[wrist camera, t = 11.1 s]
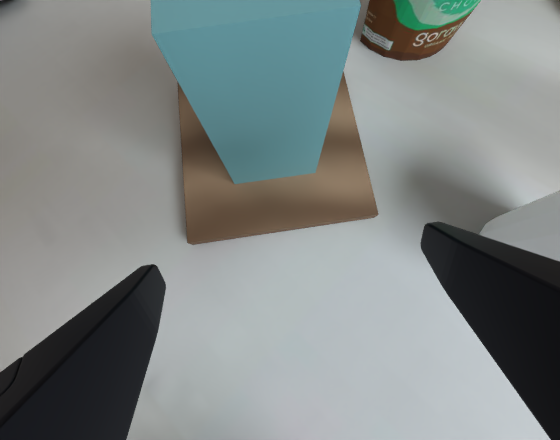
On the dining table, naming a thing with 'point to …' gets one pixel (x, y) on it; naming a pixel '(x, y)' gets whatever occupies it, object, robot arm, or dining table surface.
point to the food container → (413, 26)
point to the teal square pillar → (259, 76)
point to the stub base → (274, 184)
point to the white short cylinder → (530, 227)
